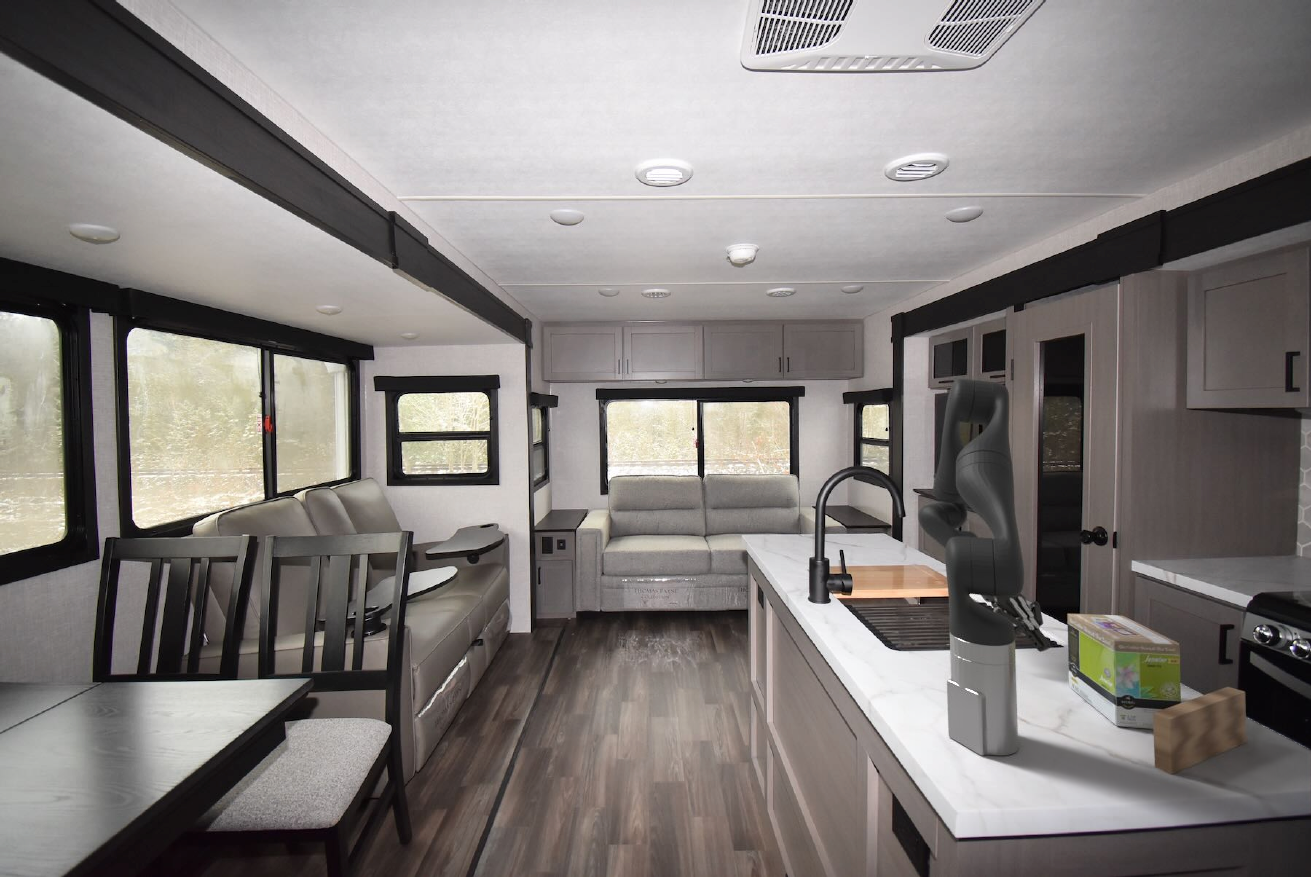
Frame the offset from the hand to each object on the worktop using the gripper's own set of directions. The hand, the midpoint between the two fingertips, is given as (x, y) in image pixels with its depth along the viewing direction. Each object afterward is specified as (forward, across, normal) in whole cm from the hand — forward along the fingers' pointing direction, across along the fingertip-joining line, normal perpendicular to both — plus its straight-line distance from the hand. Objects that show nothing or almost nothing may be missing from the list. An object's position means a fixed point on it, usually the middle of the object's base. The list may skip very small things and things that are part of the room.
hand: (1045, 649), depth 110 cm
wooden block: (+23, -5, -14) cm, 28 cm away
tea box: (+14, 0, -5) cm, 14 cm away
